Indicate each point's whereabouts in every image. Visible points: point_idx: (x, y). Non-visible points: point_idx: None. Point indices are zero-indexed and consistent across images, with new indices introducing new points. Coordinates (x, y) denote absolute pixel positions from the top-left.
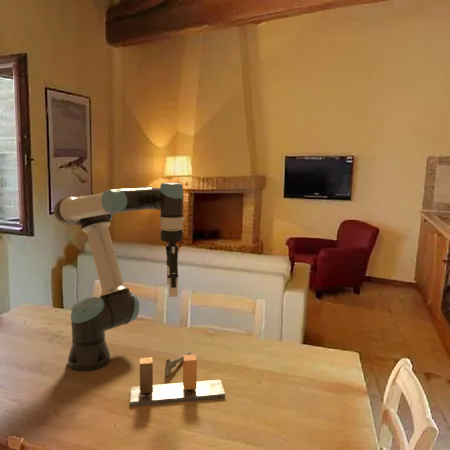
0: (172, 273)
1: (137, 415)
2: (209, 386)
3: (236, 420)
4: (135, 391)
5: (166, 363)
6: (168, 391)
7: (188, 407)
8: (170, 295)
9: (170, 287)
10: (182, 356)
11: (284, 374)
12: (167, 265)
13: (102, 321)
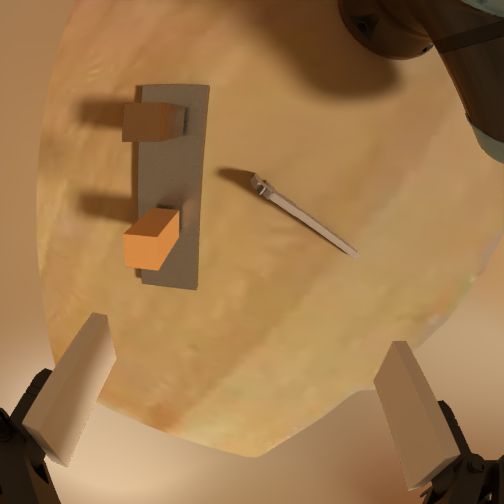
0: (402, 436)
1: (114, 103)
2: (171, 262)
3: (83, 275)
4: (183, 95)
5: (259, 184)
6: (166, 171)
7: (122, 205)
8: (90, 325)
9: (62, 366)
10: (323, 235)
11: (211, 385)
12: (460, 465)
13: (422, 4)
